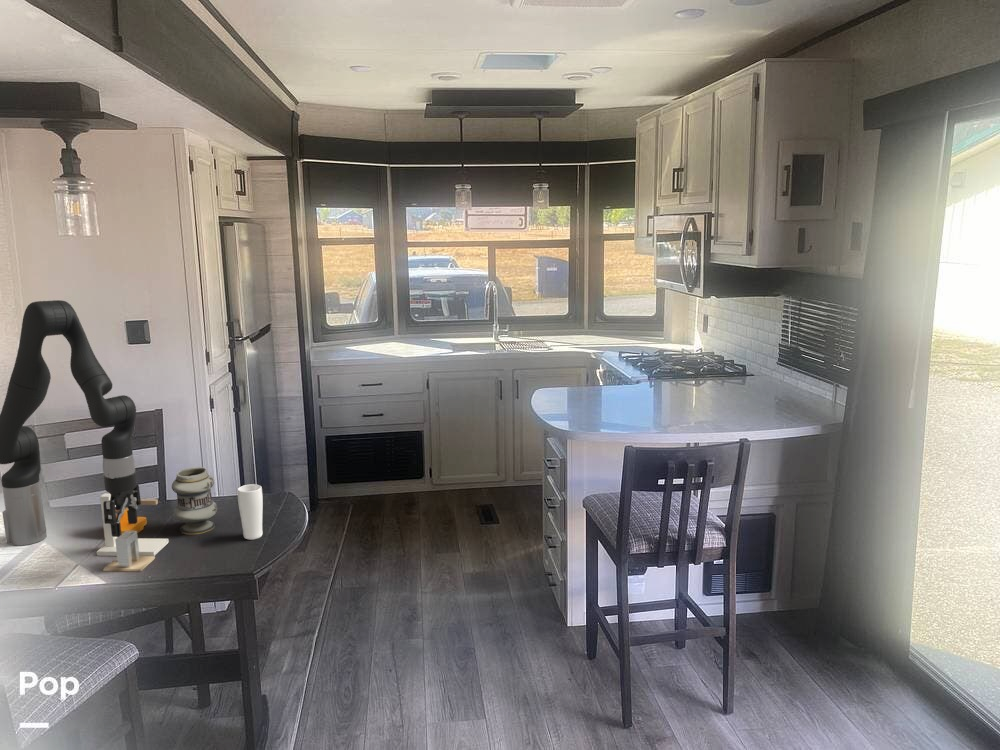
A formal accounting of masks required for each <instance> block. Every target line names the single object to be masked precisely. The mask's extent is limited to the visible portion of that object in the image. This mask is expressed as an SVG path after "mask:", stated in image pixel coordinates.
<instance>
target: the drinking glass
mask: <svg viewBox="0 0 1000 750" xmlns="http://www.w3.org/2000/svg"><path fill="white" fill-rule="evenodd" d="M263 499H264V498H263V488H262V486H261V485H259V484H256V483H252V484H249V483H248V484H244V485H242V486H240V487H238V488H237V503H238V509H239V515H240V521H241V526H242V534H243V538H244V539H246V540H251V541H252V540H258V539H260V538H262V536H263V535H264V534H263V533H264V532H263V511H264V510H263V505H264V503H263V501H264V500H263Z"/></svg>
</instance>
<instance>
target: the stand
mask: <svg viewBox="0 0 1000 750" xmlns="http://www.w3.org/2000/svg"><path fill="white" fill-rule="evenodd" d="M110 497H111V494H110V493H103V494H102V495H100V496H99V500H100V509H101V518H102V526H103V535H104V543H105V544H104V545H103V546H101V547H100V548H99V549H98V550H96V556H102V557H103V556H107V557H108V556H109V557H111V556H112V557H115V556H116V557H117V551H116V542H115V539H116V538H117V537H113V536H112V533H111V524H105V522H104V507H103V503H104V501H110ZM134 499H135V500H136V501H137V499H136V498H134ZM140 499H141V504H140V505H139V506H152V505H153V506H157V505H158V504H159V499H158V498H157V499H155V498H140ZM108 517H110V515H108ZM169 542H170V540H169V538H152V537H151V538H146V537H145V538H140V537H138V546H139V556H155V557H156V555H157V554H158V553H159V552H160V551H161V550H162V549H163V548H164V547H166V545H167V544H168V543H169Z"/></svg>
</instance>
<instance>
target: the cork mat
mask: <svg viewBox="0 0 1000 750" xmlns="http://www.w3.org/2000/svg"><path fill="white" fill-rule="evenodd" d="M155 559H156V555H155V556H140V559H139V560H137V561H132V566H131V567H130V568H124V567H118V560H117V557H116V558H115V559H114V560H112V561H111V562H110V563H108V565H106V566H105V567H104V568H103V572H142V571H143V570H144V569H145V568H147V566H148V565H149V564H151V563H152V562H153V561H154V560H155Z"/></svg>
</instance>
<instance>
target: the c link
mask: <svg viewBox="0 0 1000 750" xmlns="http://www.w3.org/2000/svg"><path fill="white" fill-rule="evenodd" d="M138 538H139V537H138V533H137V531H125V532H124V533H122V534H121V536H119V537H117V538H116V539H115V542H116V551H117V556H116V558H117V560H118V567H124V568H130V567H131V566H132V561H137V560H139V559H140V556H139V546H138Z"/></svg>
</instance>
